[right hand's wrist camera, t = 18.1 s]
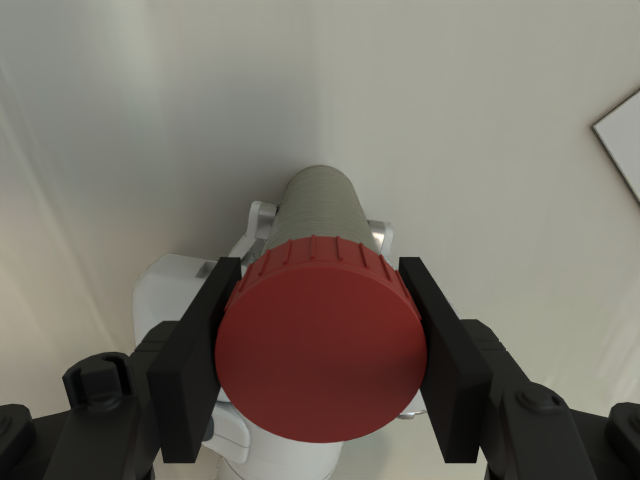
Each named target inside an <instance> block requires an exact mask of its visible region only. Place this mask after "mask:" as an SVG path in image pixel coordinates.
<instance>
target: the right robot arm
mask: <svg viewBox="0 0 640 480" xmlns="http://www.w3.org/2000/svg"><path fill="white" fill-rule="evenodd" d="M398 272H399V274H400V276H401V278H402V280H403V283H404V285H405V287H406V289H408V291H409V293H410V295H411V297H412V299H413V301H414V303H415V305H416V308H417V310H418V312H419V314H420V316H421V318H422V320H420V323H421V325H422V327H423V331H424V334H425V337H426V343H427V366H426V372H425V375H424V378H423V381H422V384H421V386H420V388H419V389H420V392H421V395H422V398H423V401H424V404H425V407H426V409H427V412H428V415H429V418H430V421H431V424H432V427H433V430H434V432H435V435H436V438H437V441H438V444H439V447H440V450H441V452H442V455H443V458H444V461H445V463H476V461H477V456H478V451H479V446H480V447H481V449H482V451H483V453H484V456H485V458H486V460H487V462H488V463H487V468H486V473H485V477H484V480H640V404H636V403H630V402H625V403H617V404H616V405H615V406H613V407H612V408H611V411H610V414H609V417H608V418H607V417H603V416H598V415H594V414H589V413H585V412H581V411H577V410H573V409H570V408H569V407H568V406H567V404H566V403H565V401H564V400H563V399H562V398H561V397H560V396H559V395H558V394H556V393H555V392H554V391H552V390H551V389H549V388H547V387H545V386H543V385H541V384H537V383H534V382H531V381H530V380H529V379H528V377H527V376H526V375H525V373H524V372H523V371H522V369H521V368H520V367H519V366H518V364H517V363H516V362H515V360H514V359H513V358H512V356H511V355H510V354H509V352H508V351H506V348H505V347H504V346H503V344H502V343H501V342H499V339H498V338H497V337H496V335H495V334H494V333H493V331H492V330H491V329H490V328H489V327H487V326H486V325H484V324H483V323H481V322H480V321H478V320H477V319H459V318H458V316H457V315H456V313H455V311H454V310H453V308H452V307H451V305H450V304H449V302H448V301H447V299H446V298H445V296H444V295H443V293H442V291H441V290H440V288H439V287H438V285H437V284H436V282H435V281H434V279H433V278H432V276H431V274H430V273H429V271H428V270H427V268H426V267H425V265H424V264H423V262H422V261H421V259H420V258H419V257H400V258H399V271H398ZM241 279H242V271H241V258H240V257H221V258H220V259H219V261H218V262H217V264H216V265H215V267H214V268H213V270H212V271H211V273H210V274H209V276H208V278H207V279H206V281H205V282H204V284H203V285H202V287H201V288H200V290H199V291H198V293H197V295H196V296H195V298H194V299H193V301H192V302H191V304H190V305H189V307H188V308H187V310H186V311H185V313H184V315H183V316H182V318H181V319H180V321H162V322H160V323H159V324H158V325H156V326H155V327H153V328H152V329H150V330H149V331H148V333H147V334H146V335H145V337H144V338H143V339H142V341H141V343H139V345H138V346H137V347H136V349H135V350H134V352H133V353H132V354H131V355H130V357H128V356H127V355H126V354H124V353H119V352H104V353H100V354H97V355H93V356H90V357H88V358H86V359H84V360H81V361H79V362H78V363H76V364H75V365H74V366H72V367H71V368H69V369H68V370H67V372H66V373H65V374H64V376H63V377H62V379H63V382H64V386H65V389H66V393H67V396H68V399H69V403H70V406H71V410H69V411H65V412H62V413H57V414H53V415H49V416H44V417H40V418H36V419H32V417H31V414H30V411H29V409H28V408H27V407H25V406H24V405H20V404H8V405H3V406H0V480H155V474H154V468H153V462H154V460H155V457H156V455H157V453H158V451H159V449H160V447H161V451H162V456H163V461H164V463H195V461H196V458H197V455H198V452H199V450H200V447H201V444H202V441H203V438H204V435H205V432H206V430H207V427H208V424H209V421H210V418H211V415H212V412H213V409H214V407H215V404H216V401H217V398H218V395H219V392H220V389H221V384H220V381H219V379H218V376H217V371H216V367H215V357H214V352H215V341H216V338H217V334H218V333H217V329H218V327H219V325H220V323H221V321H222V318H223V316H224V314H225V311H224V309H225V307H226V305H227V302H228V300H229V298H230V296H231V294H232V292H233V290H234V287H235V285H236V283H237V281H241Z"/></svg>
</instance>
